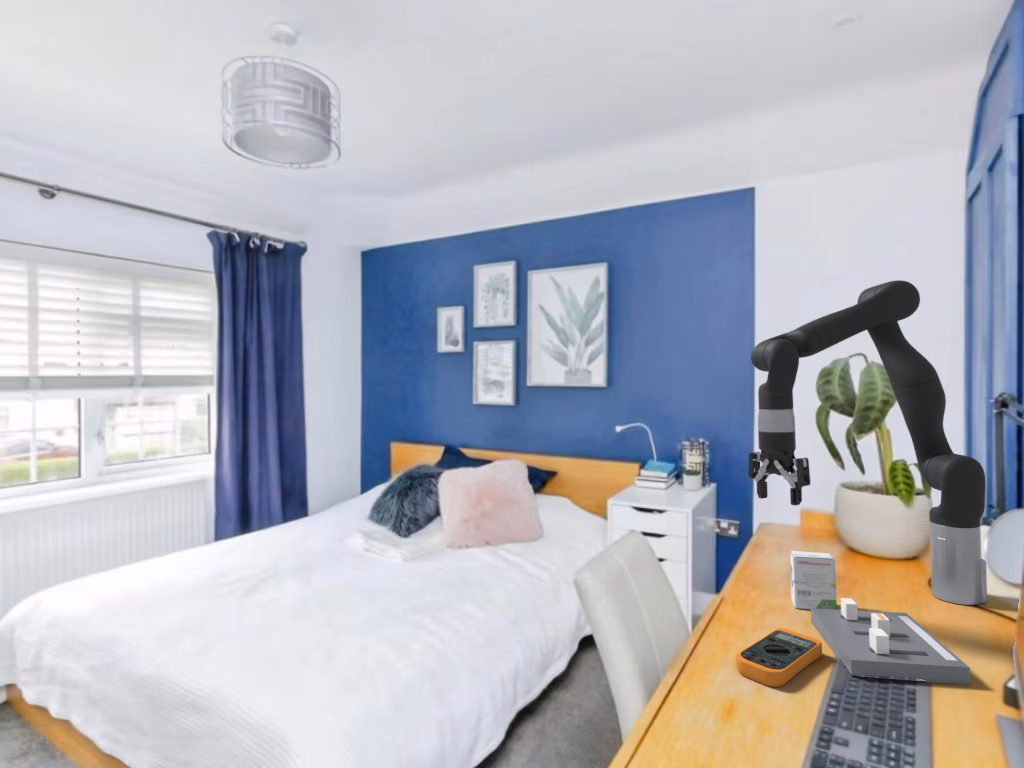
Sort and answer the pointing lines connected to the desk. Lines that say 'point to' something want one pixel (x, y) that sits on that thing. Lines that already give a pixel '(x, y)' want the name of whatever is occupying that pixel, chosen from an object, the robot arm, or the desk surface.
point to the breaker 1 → (849, 609)
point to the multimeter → (778, 657)
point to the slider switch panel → (907, 648)
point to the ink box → (813, 580)
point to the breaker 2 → (879, 641)
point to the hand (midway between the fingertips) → (778, 501)
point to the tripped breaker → (880, 622)
